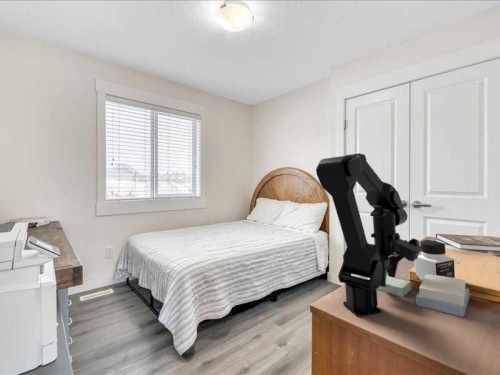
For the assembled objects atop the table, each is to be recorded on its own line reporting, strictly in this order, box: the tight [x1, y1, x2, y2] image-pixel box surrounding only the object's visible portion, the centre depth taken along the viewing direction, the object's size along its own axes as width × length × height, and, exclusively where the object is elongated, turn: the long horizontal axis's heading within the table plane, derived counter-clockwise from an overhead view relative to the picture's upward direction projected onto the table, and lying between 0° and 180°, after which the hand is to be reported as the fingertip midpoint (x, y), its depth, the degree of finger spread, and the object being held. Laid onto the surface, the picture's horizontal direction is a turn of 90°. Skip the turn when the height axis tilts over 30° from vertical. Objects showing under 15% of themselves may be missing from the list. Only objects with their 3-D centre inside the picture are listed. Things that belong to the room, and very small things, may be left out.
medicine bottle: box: [413, 239, 456, 282], centre depth 76 cm, size 7×7×12 cm
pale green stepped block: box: [365, 275, 412, 297], centre depth 73 cm, size 10×6×2 cm, turn 38°
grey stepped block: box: [415, 274, 470, 318], centre depth 63 cm, size 12×9×4 cm
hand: (387, 283), depth 73 cm, fingers closed on pale green stepped block, 6 cm apart
